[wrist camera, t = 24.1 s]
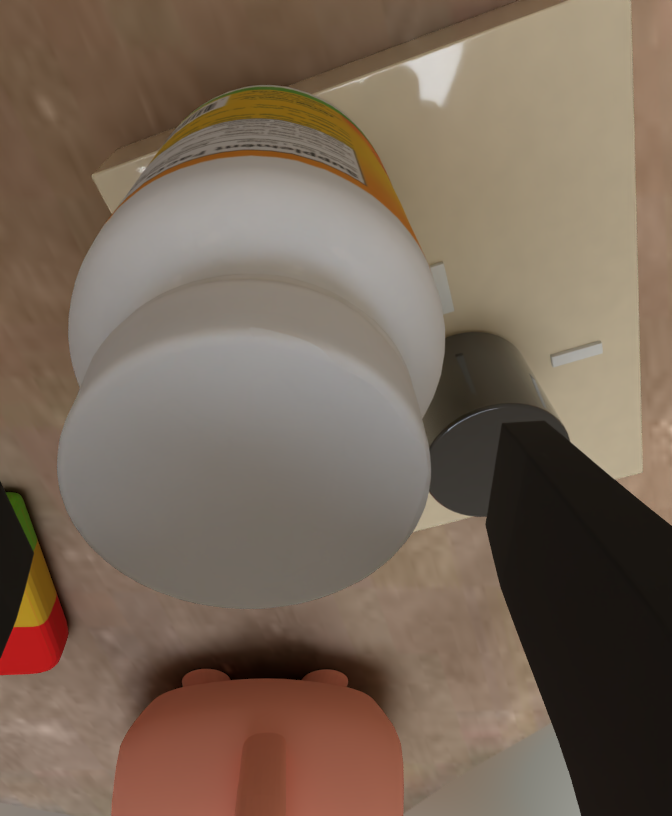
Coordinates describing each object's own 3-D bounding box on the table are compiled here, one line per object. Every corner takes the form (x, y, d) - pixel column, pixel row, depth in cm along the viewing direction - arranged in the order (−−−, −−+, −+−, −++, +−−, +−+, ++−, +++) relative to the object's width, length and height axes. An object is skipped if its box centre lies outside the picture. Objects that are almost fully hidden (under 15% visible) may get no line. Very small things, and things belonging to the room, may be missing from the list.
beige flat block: (115, 149, 16) (88, 177, 14) (583, -24, 14) (635, -23, 12) (299, 511, 24) (299, 566, 22) (611, 427, 22) (646, 476, 20)
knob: (398, 436, 19) (419, 529, 16) (406, 331, 16) (432, 415, 13) (515, 433, 19) (558, 523, 16) (538, 328, 17) (593, 410, 14)
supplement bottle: (366, 322, 16) (434, 653, 8) (159, 300, 16) (21, 640, 8) (409, 100, 13) (581, 295, 5) (153, 60, 13) (-85, 216, 5)
